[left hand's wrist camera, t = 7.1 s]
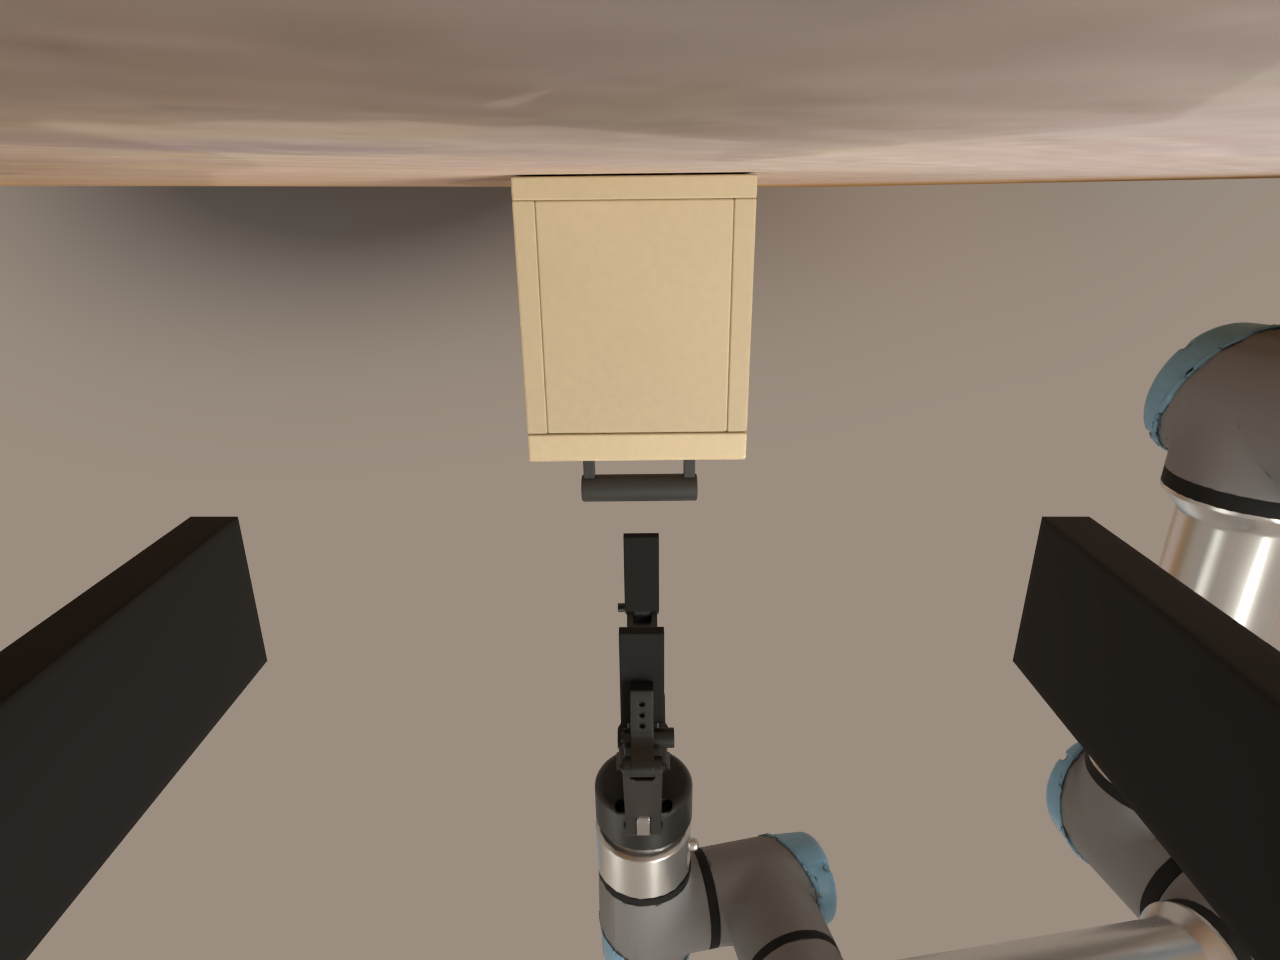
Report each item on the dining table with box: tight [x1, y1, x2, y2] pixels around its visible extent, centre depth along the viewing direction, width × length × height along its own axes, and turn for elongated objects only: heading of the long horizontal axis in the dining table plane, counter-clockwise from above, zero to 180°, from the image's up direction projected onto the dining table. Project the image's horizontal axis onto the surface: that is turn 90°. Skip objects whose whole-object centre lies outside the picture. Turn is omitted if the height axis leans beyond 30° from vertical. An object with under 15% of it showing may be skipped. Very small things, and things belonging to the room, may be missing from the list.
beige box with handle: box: [528, 430, 747, 502], centre depth 43 cm, size 18×10×9 cm, turn 0°
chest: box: [511, 174, 757, 434], centre depth 39 cm, size 17×10×10 cm, turn 0°
